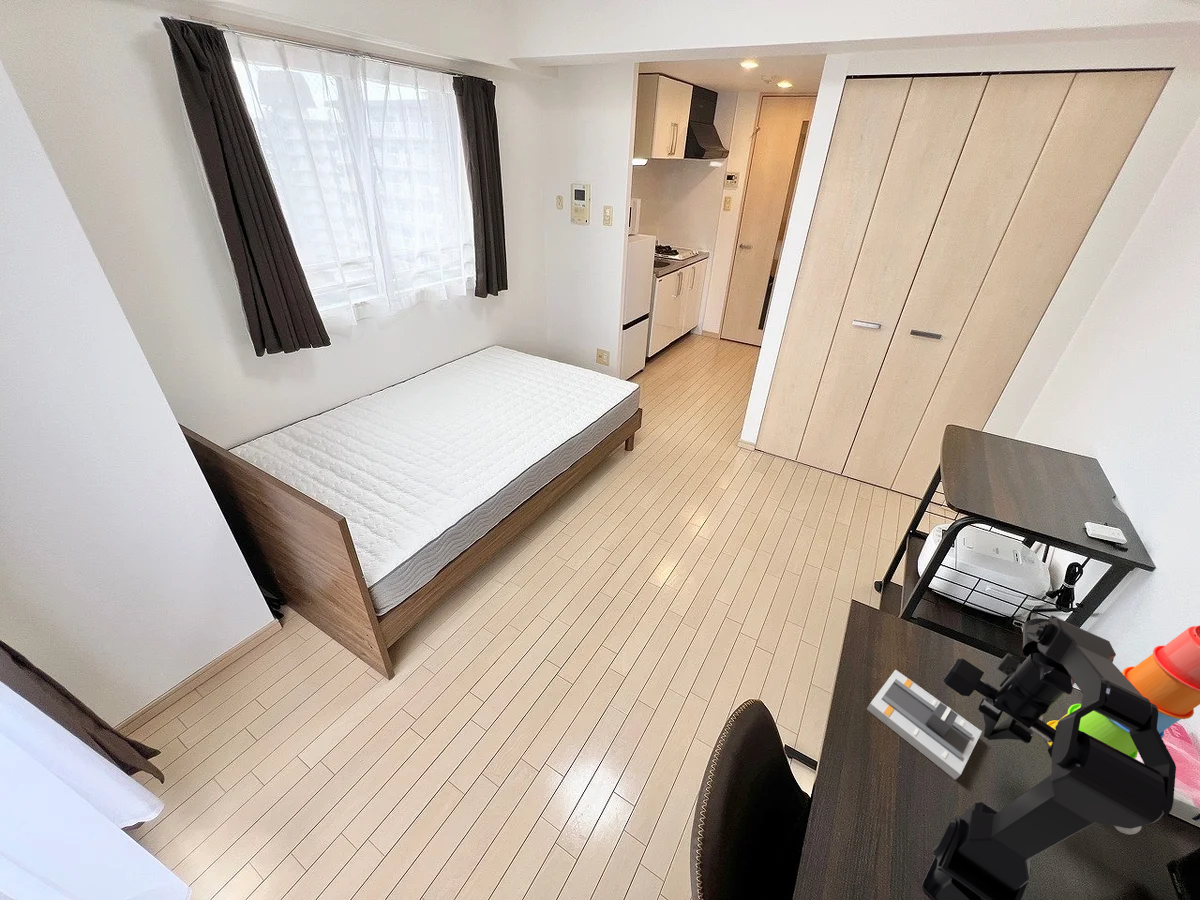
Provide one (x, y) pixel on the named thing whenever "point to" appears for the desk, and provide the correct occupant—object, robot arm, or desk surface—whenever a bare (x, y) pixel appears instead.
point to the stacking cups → (1154, 691)
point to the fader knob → (941, 719)
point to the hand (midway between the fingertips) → (987, 736)
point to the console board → (923, 724)
